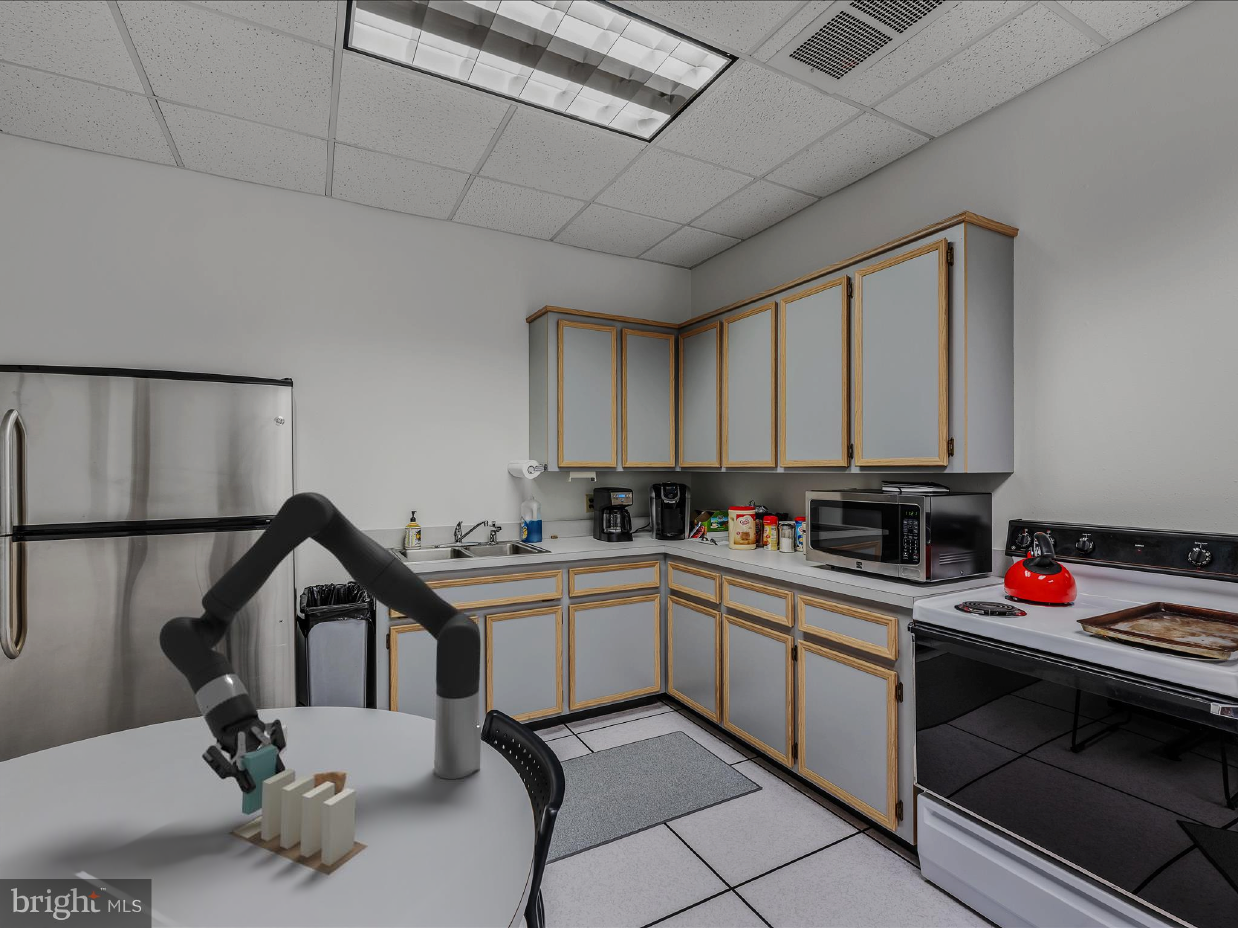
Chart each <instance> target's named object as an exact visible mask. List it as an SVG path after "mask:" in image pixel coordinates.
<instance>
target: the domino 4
mask: <svg viewBox="0 0 1238 928" xmlns="http://www.w3.org/2000/svg"><path fill="white" fill-rule="evenodd" d="M355 815H356V789H353V788H350V787H347V788H345V789H344V790H342V792H340V793H338V794H337V795H335V796H333V797H332V798H330V799H328V800H327V801H325V802H323V826H322V862H321V863H323V864H325V865H328V866H330V865H331V864H333V863H334V862H336V861H337V860H338V859H340V858H341V857H343V856H344V855H345V854H347V853H348V852H350V851H351V850H352V849H354V841H355V823H356V820H355V817H356V816H355Z"/></svg>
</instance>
